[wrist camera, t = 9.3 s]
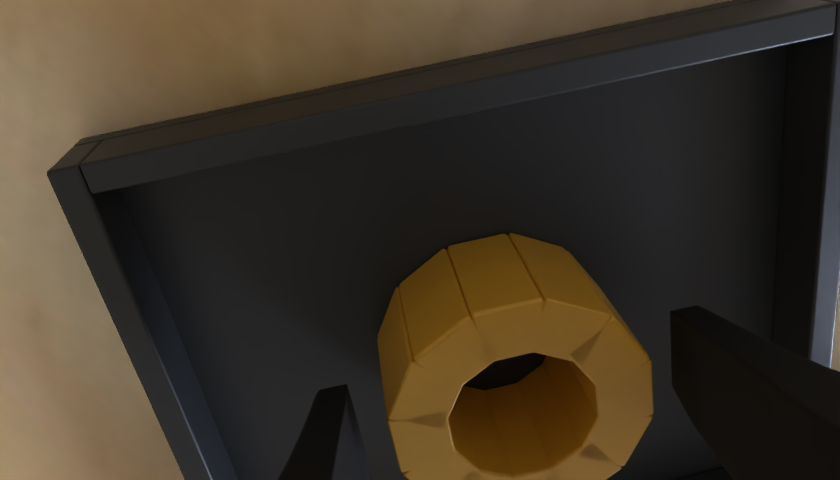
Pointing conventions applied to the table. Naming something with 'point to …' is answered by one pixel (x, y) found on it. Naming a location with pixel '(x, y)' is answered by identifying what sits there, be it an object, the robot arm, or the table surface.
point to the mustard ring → (500, 339)
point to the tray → (470, 218)
